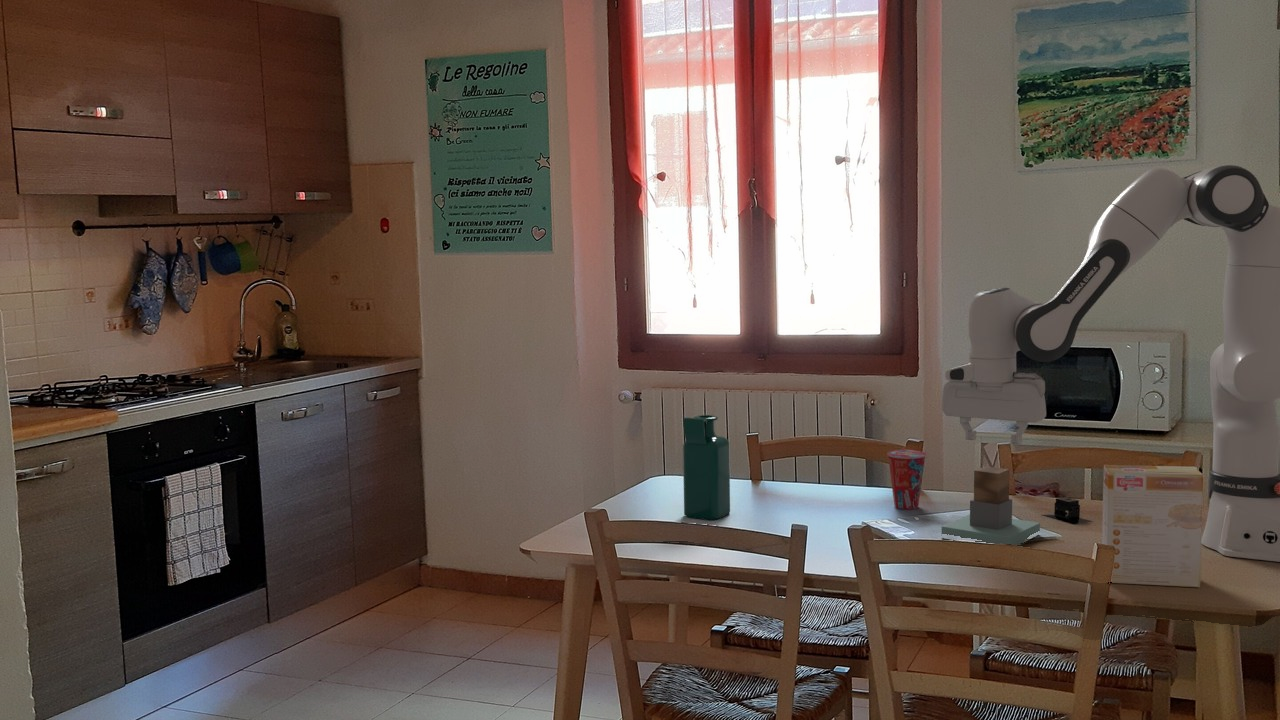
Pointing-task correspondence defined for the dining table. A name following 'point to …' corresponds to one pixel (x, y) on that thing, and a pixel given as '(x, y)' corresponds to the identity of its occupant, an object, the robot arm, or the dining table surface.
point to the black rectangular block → (1068, 517)
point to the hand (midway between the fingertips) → (993, 441)
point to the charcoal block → (991, 514)
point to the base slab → (992, 531)
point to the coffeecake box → (1154, 524)
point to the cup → (906, 477)
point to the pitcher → (705, 470)
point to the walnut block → (991, 485)
